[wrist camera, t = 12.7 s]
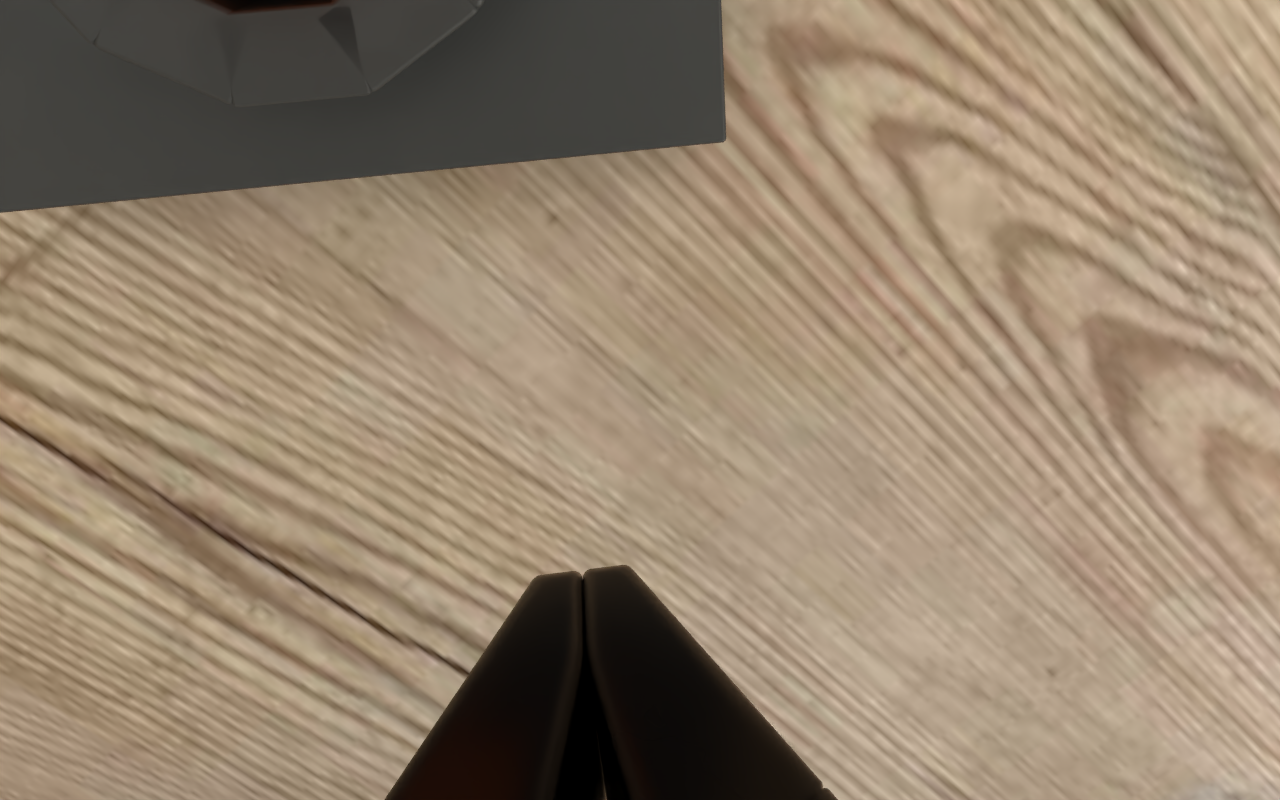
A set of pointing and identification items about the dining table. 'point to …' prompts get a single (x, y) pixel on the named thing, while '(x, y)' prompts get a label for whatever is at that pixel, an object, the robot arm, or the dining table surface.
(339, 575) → the dining table surface
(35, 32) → the button box
